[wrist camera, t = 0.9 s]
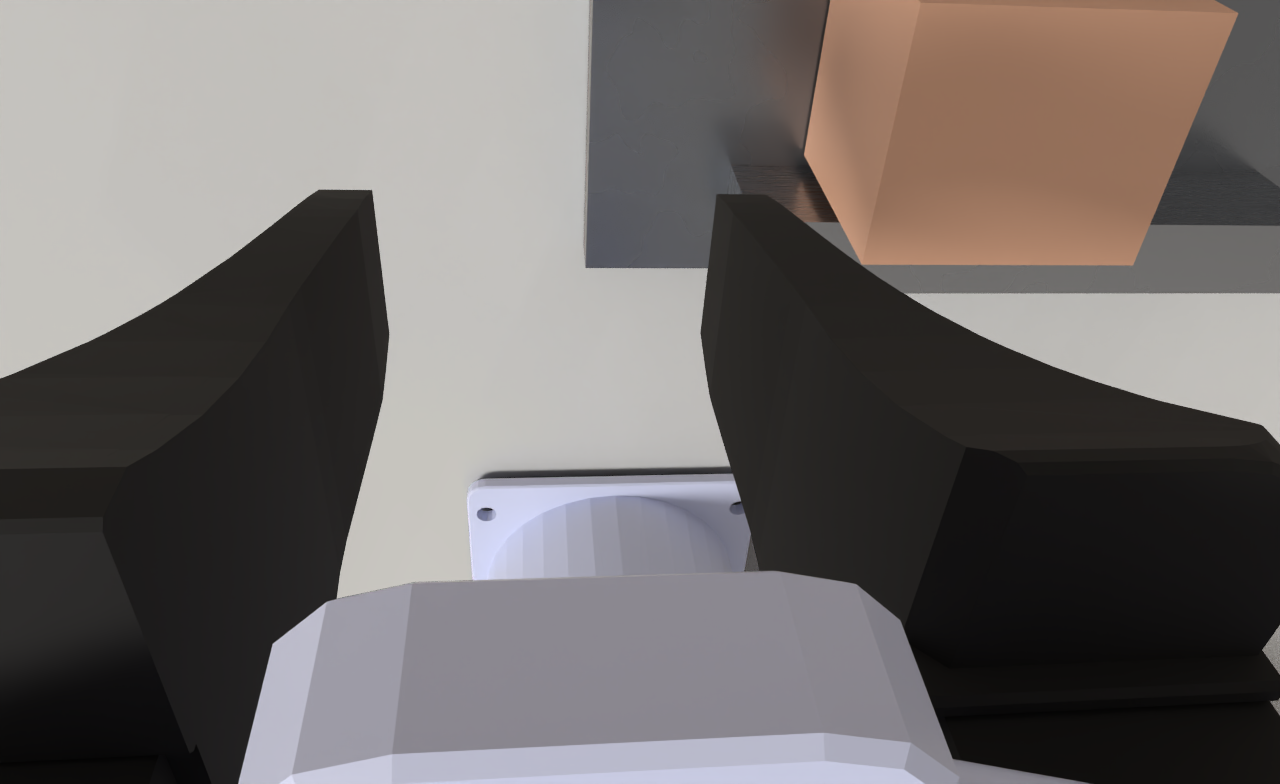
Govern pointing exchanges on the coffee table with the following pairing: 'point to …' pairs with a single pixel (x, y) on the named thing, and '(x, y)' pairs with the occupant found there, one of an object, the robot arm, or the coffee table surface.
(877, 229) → the block
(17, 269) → the coffee table surface
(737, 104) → the chute
